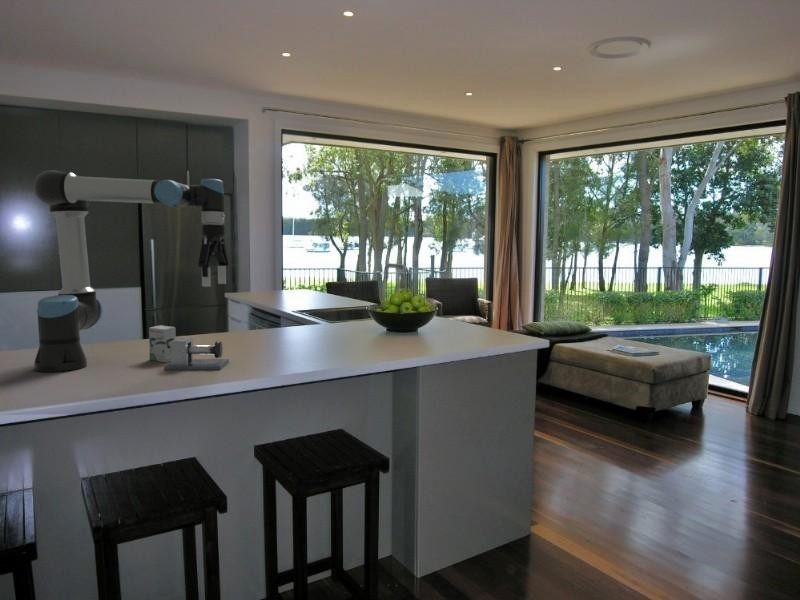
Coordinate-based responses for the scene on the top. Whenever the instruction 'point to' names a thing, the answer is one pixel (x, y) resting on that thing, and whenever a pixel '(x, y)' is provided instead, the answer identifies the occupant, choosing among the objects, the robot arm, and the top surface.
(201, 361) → the rail
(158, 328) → the ink box
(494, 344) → the top surface
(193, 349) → the shaft
